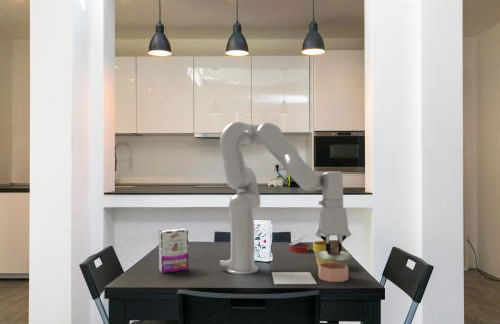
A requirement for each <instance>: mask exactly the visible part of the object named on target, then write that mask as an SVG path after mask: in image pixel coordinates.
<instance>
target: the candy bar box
mask: <svg viewBox="0 0 500 324" xmlns="http://www.w3.org/2000/svg"><path fill="white" fill-rule="evenodd" d="M158 269H159V272H160V273H161V274H166V273H168V274H169V273H172V272H173V273H175V272H181V271H182V272H183V271H188V270H189V230H188V229H186V228H175V229H165V230H164V229H163V230H158Z"/></svg>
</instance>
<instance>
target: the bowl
mask: <svg viewBox="0 0 500 324" xmlns="http://www.w3.org/2000/svg"><path fill="white" fill-rule="evenodd" d="M317 266H318V267H317V268H318V270H317V271H318V272H317V274H318V276H317V277H318V278H319V280H322V281H325V282H330V283H335V282H336V283H342V282H345V281H348V280H349V266H348V265H347V264H346V263H341V262H338V261H337V262H324V263H321V264H318V265H317Z"/></svg>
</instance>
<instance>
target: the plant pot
mask: <svg viewBox="0 0 500 324" xmlns="http://www.w3.org/2000/svg"><path fill="white" fill-rule="evenodd" d="M312 249H313V252H314V255H315V260H316V263H317V266H318V264H321V263H324V262H335V261H332V260H324V259H320V258H317V257H316V253H317V252H321V251H326V244H325V241H324V240H317V241H313V243H312Z"/></svg>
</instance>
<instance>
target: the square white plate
mask: <svg viewBox="0 0 500 324" xmlns="http://www.w3.org/2000/svg"><path fill="white" fill-rule="evenodd" d="M271 276H272V279H273V284H274V285H305V284H306V285H317V284H318V283H317V282H316V280H315V278H314V276H312V273H311V272H309V271H308V272H307V271H305V272H304V271H299V272H298V271H297V272H294V271H293V272H291V271H290V272H289V271H288V272H285V271H283V272H282V271H281V272H279V271H278V272H276V271H275V272H274V271H273V272H271Z"/></svg>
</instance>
